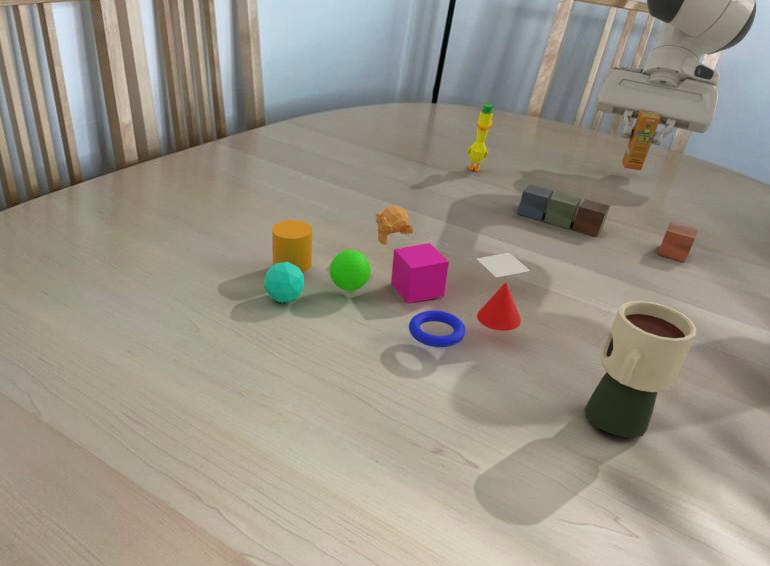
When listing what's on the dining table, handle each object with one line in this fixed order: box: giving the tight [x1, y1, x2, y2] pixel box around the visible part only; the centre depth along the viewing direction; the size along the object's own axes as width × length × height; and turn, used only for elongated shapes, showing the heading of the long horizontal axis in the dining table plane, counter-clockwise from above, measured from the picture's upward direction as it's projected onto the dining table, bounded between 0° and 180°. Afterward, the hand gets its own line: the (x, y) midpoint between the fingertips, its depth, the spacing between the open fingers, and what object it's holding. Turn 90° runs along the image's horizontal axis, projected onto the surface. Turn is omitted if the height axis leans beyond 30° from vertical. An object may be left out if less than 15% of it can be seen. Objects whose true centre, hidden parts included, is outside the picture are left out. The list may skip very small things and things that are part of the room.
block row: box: [516, 183, 698, 263], centre depth 117 cm, size 4×26×4 cm, turn 59°
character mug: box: [584, 300, 697, 439], centre depth 74 cm, size 11×7×13 cm, turn 140°
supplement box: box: [621, 111, 660, 171], centre depth 137 cm, size 3×3×10 cm
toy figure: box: [467, 103, 494, 172], centre depth 134 cm, size 7×4×12 cm, turn 161°
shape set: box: [263, 205, 531, 348], centre depth 94 cm, size 29×35×7 cm
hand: (640, 139), depth 136 cm, fingers closed on supplement box, 4 cm apart
